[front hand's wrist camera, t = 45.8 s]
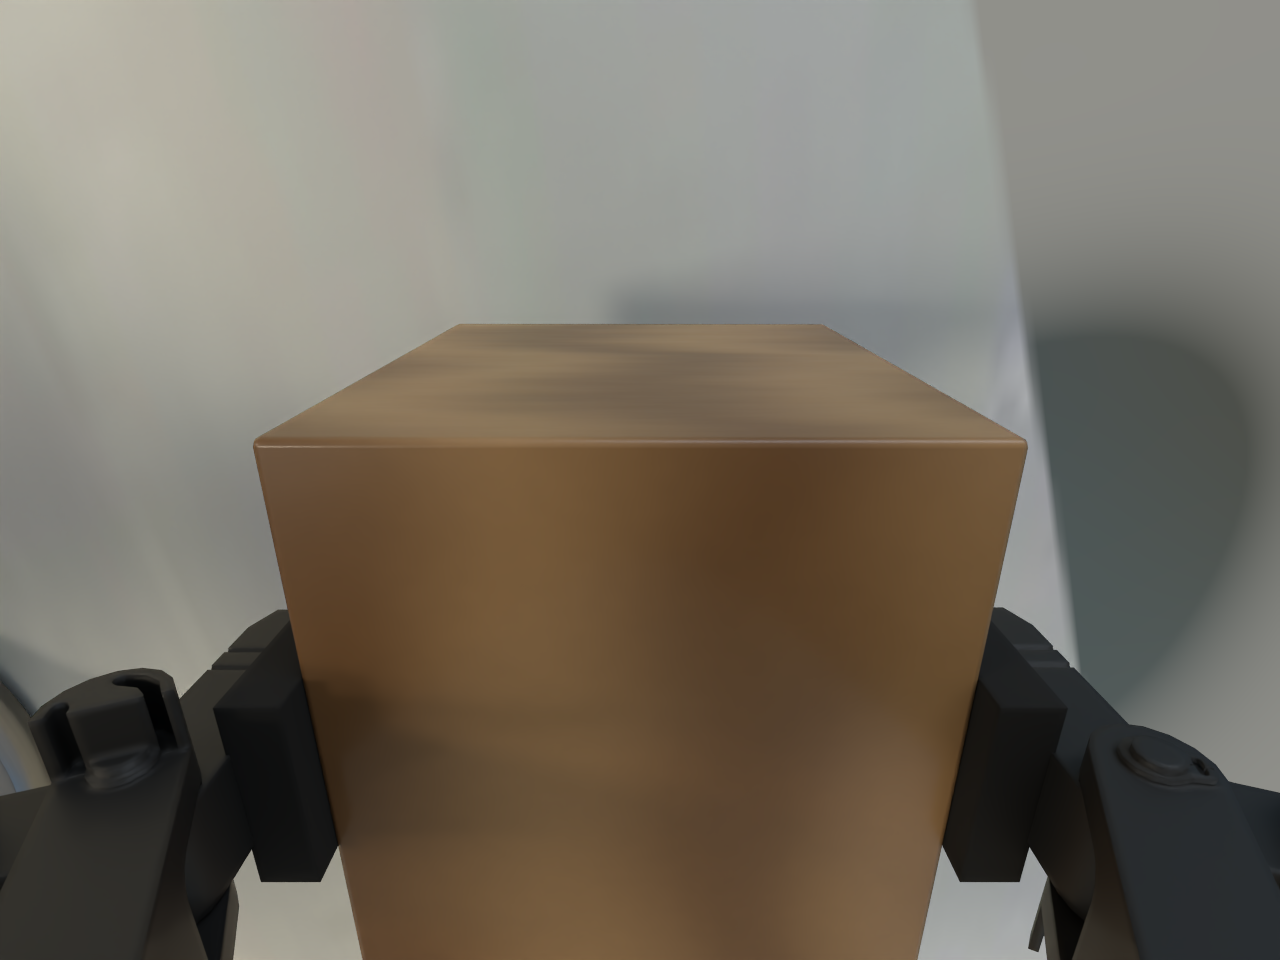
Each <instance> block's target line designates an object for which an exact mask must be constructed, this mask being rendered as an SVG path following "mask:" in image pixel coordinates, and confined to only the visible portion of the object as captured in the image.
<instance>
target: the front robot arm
mask: <svg viewBox="0 0 1280 960" xmlns="http://www.w3.org/2000/svg"><path fill="white" fill-rule="evenodd" d="M228 649H229V650H228V652H224V653H223V654H222V655H221V656H220V658H219V659H218V660H217V661H216V662H215V663H214V664H213V665H212V669H211V670H207V671H206V672H205V673H204V674H203V675H202V676H201V677H200V678H199V679H198V680H197V681H196V682H195V684H194V685H193V686H192V687H191V688H190V689H189V690H188V691H187V692H186V693H185V694H184V695H183V696H182V697H181V698H180V699H179V697H178V693H177V690H176V687H175V683H174V680H173V677H171V676H170V675H168V674H167V673H165V672H164V671H162V670H155V669H147V668H139V669H130V670H122V671H116V672H113V673H109V674H106V675H103V676H99V677H96V678H92V679H90V680H87V681H85V682H83V683H81V684H79V685H76V686H74V687H72V688H70V689H68V690H65V691H63V692H62V693H60V694H59V695H58V696H56V697H55V698H53V699H52V700H50V701H49V702H47V703H46V704H44V705H43V706H41V707H40V708H39V710H38V711H37V712H36V713H35V714H34V715H33V716H32V717H30V716H29V715H28V713H27V712H26V710H25V709H24V707H23V706H22V705H21V704H20V703H19V701H18V700H17V699H16V698H15V697H14V695H13V694H12V693H11V692H10V691H9V690H8V689H7V688H6V687H5V686H4V685H3V684H2V683H1V681H0V960H233V955H234V946H235V938H236V929H237V920H238V911H239V903H238V896H237V891H236V887H235V884H234V881H233V879H234V877H235V875H236V874H237V872H238V871H239V869H240V867H241V866H242V864H243V862H244V861H245V859H246V858H247V856H248V854H249V853H250V851H251V850H252V851H253V855H254V858H255V862H256V866H257V869H258V873H259V876H260V880H261V882H321V880H322V878H323V876H324V874H325V872H326V869H327V867H328V865H329V863H330V861H331V859H332V857H333V855H334V853H335V851H336V849H337V847H338V842H337V837H336V832H335V828H334V823H333V818H332V814H331V809H330V804H329V800H328V795H327V790H326V785H325V781H324V776H323V771H322V767H321V762H320V757H319V753H318V748H317V743H316V739H315V734H314V729H313V725H312V720H311V715H310V711H309V706H308V701H307V697H306V692H305V687H304V683H303V678H302V673H301V669H300V664H299V659H298V655H297V650H296V645H295V641H294V636H293V631H292V627H291V622H290V617H289V612H288V610H277V611H275V612H273V613H272V614H270V615H268V616H267V617H265V618H263V619H262V620H260V621H258V622H257V623H255V624H253V625H252V626H250V627H248V628H247V629H246V630H245V631H244V633H243V634H242V635H241V636H240V637H239V638H238V639H237V640H236V641H235V642H234V643H233V644H232V645H231V646H230V647H229V648H228ZM942 846H943V848H944V850H945V852H946V854H947V856H948V858H949V860H950V862H951V864H952V866H953V868H954V870H955V873H956V875H957V877H958V879H959V881H960V882H1020V878H1021V875H1022V871H1023V868H1024V864H1025V860H1026V857H1027V853H1028V850H1029V847H1030V848H1031V850H1032V852H1033V853H1034V855H1035V856H1036V858H1037V860H1038V861H1039V863H1040V864H1041V866H1042V868H1043V869H1044V871H1045V873H1046V874H1047V876H1048V877H1047V881H1046V884H1045V887H1044V891H1043V894H1042V897H1041V901H1040V904H1039V907H1038V911H1037V914H1036V918H1035V921H1034V924H1033V928H1032V931H1031V935H1030V941H1029V947H1028V949H1031V950H1034V951H1036V952H1039V948H1040V945H1041V942H1042V939H1043V936H1045V944H1046V953H1047V960H1280V793H1278V792H1273V791H1269V790H1264V789H1260V788H1255V787H1251V786H1246V785H1241V784H1237V783H1233V782H1229V781H1228V780H1227V779H1226V777H1225V776H1224V775H1223V774H1222V772H1221V771H1220V770H1219V768H1218V767H1217V766H1216V764H1214V763H1213V762H1212V761H1210V760H1209V759H1208V758H1207V757H1205V756H1204V755H1203V754H1201V753H1200V752H1199V751H1198V750H1196V749H1195V748H1193V747H1191V746H1189V745H1187V744H1186V743H1184V742H1182V741H1180V740H1178V739H1176V738H1174V737H1172V736H1170V735H1168V734H1165V733H1162V732H1159V731H1155V730H1152V729H1149V728H1146V727H1143V726H1136V725H1129V724H1128V723H1127V722H1126V721H1125V720H1124V719H1123V718H1122V717H1121V716H1120V715H1119V714H1118V713H1117V712H1116V711H1115V710H1114V709H1113V708H1112V707H1111V706H1110V705H1109V704H1108V702H1107V701H1106V700H1105V699H1104V698H1103V697H1102V696H1101V695H1100V694H1099V693H1098V692H1097V691H1096V690H1095V689H1094V688H1093V687H1092V686H1091V685H1090V684H1089V683H1088V682H1087V681H1086V680H1085V679H1084V678H1083V677H1082V676H1081V675H1080V674H1079V672H1078V671H1077V670H1076V669H1075V668H1070V666H1069V662H1068V661H1067V660H1066V659H1065V658H1064V657H1063V656H1062V655H1061V654H1060V653H1059V652H1058V651H1057V650H1053V646H1052V645H1051V644H1050V643H1049V641H1048V640H1047V639H1046V638H1045V637H1044V636H1043V635H1042V634H1041V633H1040V632H1039V631H1038V630H1037V629H1036V628H1035V627H1034V626H1033V625H1032V624H1030V623H1028V622H1026V621H1025V620H1023V619H1021V618H1020V617H1018V616H1016V615H1015V614H1013V613H1011V612H1010V611H1008V610H1006V609H1005V608H993V611H992V616H991V621H990V625H989V630H988V635H987V639H986V644H985V648H984V653H983V658H982V662H981V667H980V672H979V676H978V681H977V685H976V690H975V695H974V699H973V704H972V709H971V713H970V718H969V722H968V727H967V732H966V736H965V741H964V746H963V750H962V755H961V759H960V764H959V769H958V773H957V778H956V783H955V787H954V792H953V796H952V801H951V806H950V810H949V815H948V820H947V824H946V829H945V833H944V838H943V843H942Z"/></svg>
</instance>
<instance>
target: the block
mask: <svg viewBox="0 0 1280 960" xmlns="http://www.w3.org/2000/svg"><path fill="white" fill-rule="evenodd" d="M253 449H254V453H255V458H256V463H257V468H258V472H259V477H260V482H261V486H262V491H263V496H264V500H265V505H266V510H267V514H268V519H269V524H270V528H271V533H272V538H273V542H274V547H275V552H276V556H277V561H278V566H279V570H280V575H281V580H282V584H283V589H284V594H285V598H286V603H287V608H288V612H289V617H290V622H291V627H292V631H293V636H294V641H295V645H296V650H297V655H298V659H299V664H300V669H301V673H302V678H303V683H304V687H305V692H306V697H307V701H308V706H309V711H310V715H311V720H312V725H313V729H314V734H315V739H316V743H317V748H318V753H319V757H320V762H321V767H322V771H323V776H324V781H325V785H326V790H327V795H328V800H329V804H330V809H331V814H332V818H333V823H334V828H335V832H336V837H337V842H338V846H339V851H340V856H341V860H342V865H343V870H344V874H345V879H346V884H347V888H348V893H349V898H350V902H351V907H352V912H353V916H354V921H355V926H356V930H357V935H358V940H359V944H360V949H361V954H362V958H363V960H917V958H918V954H919V949H920V944H921V940H922V935H923V931H924V926H925V921H926V917H927V912H928V907H929V903H930V898H931V894H932V889H933V884H934V880H935V875H936V870H937V866H938V861H939V857H940V852H941V847H942V843H943V838H944V833H945V829H946V824H947V820H948V815H949V810H950V806H951V801H952V796H953V792H954V787H955V783H956V778H957V773H958V769H959V764H960V759H961V755H962V750H963V746H964V741H965V736H966V732H967V727H968V722H969V718H970V713H971V709H972V704H973V699H974V695H975V690H976V685H977V681H978V676H979V672H980V667H981V662H982V658H983V653H984V648H985V644H986V639H987V635H988V630H989V625H990V621H991V616H992V611H993V607H994V602H995V598H996V593H997V588H998V584H999V579H1000V574H1001V570H1002V565H1003V561H1004V556H1005V551H1006V547H1007V542H1008V537H1009V533H1010V528H1011V524H1012V519H1013V514H1014V510H1015V505H1016V500H1017V496H1018V491H1019V487H1020V482H1021V477H1022V473H1023V468H1024V463H1025V459H1026V454H1027V450H1028V446H1027V442H1026V440H1025V439H1023V438H1021V437H1020V436H1018V435H1016V434H1014V433H1013V432H1011V431H1009V430H1007V429H1006V428H1004V427H1002V426H1000V425H999V424H997V423H995V422H993V421H992V420H990V419H988V418H986V417H985V416H983V415H981V414H979V413H978V412H976V411H974V410H972V409H970V408H969V407H967V406H965V405H963V404H962V403H960V402H958V401H956V400H955V399H953V398H951V397H949V396H948V395H946V394H944V393H942V392H941V391H939V390H937V389H935V388H934V387H932V386H930V385H928V384H927V383H925V382H923V381H921V380H920V379H918V378H916V377H914V376H912V375H911V374H909V373H907V372H905V371H904V370H902V369H900V368H898V367H897V366H895V365H893V364H891V363H890V362H888V361H886V360H884V359H883V358H881V357H879V356H877V355H876V354H874V353H872V352H870V351H869V350H867V349H865V348H863V347H861V346H860V345H858V344H856V343H854V342H853V341H851V340H849V339H847V338H846V337H844V336H842V335H840V334H839V333H837V332H835V331H833V330H832V329H830V328H828V327H826V326H824V325H822V324H459V325H456V326H455V327H453V328H451V329H449V330H447V331H446V332H444V333H442V334H440V335H439V336H437V337H435V338H433V339H432V340H430V341H428V342H426V343H424V344H423V345H421V346H419V347H417V348H416V349H414V350H412V351H410V352H408V353H407V354H405V355H403V356H401V357H400V358H398V359H396V360H394V361H393V362H391V363H389V364H387V365H385V366H384V367H382V368H380V369H378V370H377V371H375V372H373V373H371V374H369V375H368V376H366V377H364V378H362V379H361V380H359V381H357V382H355V383H354V384H352V385H350V386H348V387H346V388H345V389H343V390H341V391H339V392H338V393H336V394H334V395H332V396H330V397H329V398H327V399H325V400H323V401H322V402H320V403H318V404H316V405H315V406H313V407H311V408H309V409H307V410H306V411H304V412H302V413H300V414H299V415H297V416H295V417H293V418H291V419H290V420H288V421H286V422H284V423H283V424H281V425H279V426H277V427H276V428H274V429H272V430H270V431H268V432H267V433H265V434H263V435H261V436H260V437H258V438H256V439H255V441H254V445H253Z"/></svg>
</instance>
